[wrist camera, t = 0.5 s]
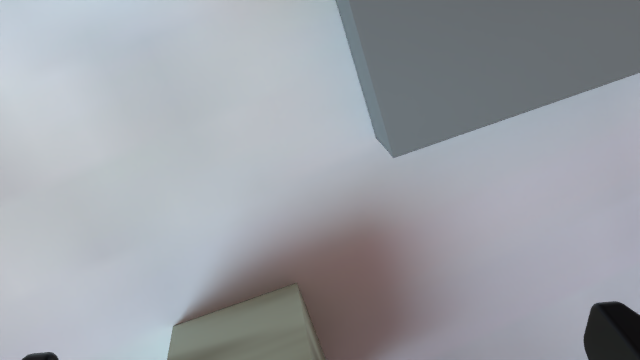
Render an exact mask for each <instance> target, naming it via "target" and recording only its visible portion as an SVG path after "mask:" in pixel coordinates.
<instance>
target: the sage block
mask: <svg viewBox="0 0 640 360" xmlns="http://www.w3.org/2000/svg"><path fill="white" fill-rule="evenodd" d="M167 360H326V359H325V356H324V354H323V351H322V348H321V346H320V343H319V340H318V338H317V335H316V332H315V330H314V327H313V325H312V322H311V319H310V317H309V314H308V311H307V309H306V306H305V303H304V301H303V298H302V295H301V293H300V290H299V287H298V285H297V283H295V284H292V285H290V286H287V287H284V288H281V289H278V290H275V291H272V292H270V293H267V294H264V295H261V296H258V297H255V298H253V299H250V300H247V301H244V302H241V303H238V304H235V305H233V306H230V307H227V308H224V309H221V310H218V311H215V312H213V313H210V314H207V315H204V316H201V317H198V318H196V319H193V320H190V321H187V322H184V323H181V324H178V325H176V326H173V330H172V335H171V341H170V347H169V352H168V358H167Z"/></svg>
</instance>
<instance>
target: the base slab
mask: <svg viewBox="0 0 640 360" xmlns="http://www.w3.org/2000/svg"><path fill="white" fill-rule="evenodd" d="M336 2H337V6H338V9H339V13H340V16H341V19H342V23H343V26H344V30H345V33H346V37H347V40H348V43H349V47H350V50H351V54H352V57H353V61H354V64H355V67H356V71H357V74H358V78H359V81H360V84H361V88H362V91H363V95H364V98H365V102H366V105H367V108H368V112H369V115H370V119H371V122H372V126H373V129H374V132H375V136H376V138H377V140H378V141H379V142H380V143H381V144H382V145H383V146H384V148H385V149H386V150H387V151H388V152H389V153H390V154H391V156H392V157H393V158H395V157H398V156H401V155H404V154H407V153H409V152H412V151H415V150H418V149H421V148H424V147H427V146H430V145H432V144H435V143H438V142H441V141H444V140H447V139H450V138H453V137H456V136H458V135H461V134H464V133H467V132H470V131H473V130H476V129H479V128H481V127H484V126H487V125H490V124H493V123H496V122H499V121H502V120H505V119H507V118H510V117H513V116H516V115H519V114H522V113H525V112H528V111H530V110H533V109H536V108H539V107H542V106H545V105H548V104H551V103H554V102H556V101H559V100H562V99H565V98H568V97H571V96H574V95H577V94H579V93H582V92H585V91H588V90H591V89H594V88H597V87H600V86H603V85H605V84H608V83H611V82H614V81H617V80H620V79H623V78H626V77H628V76H631V75H634V74H637V73H640V0H336Z"/></svg>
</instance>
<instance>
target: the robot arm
mask: <svg viewBox="0 0 640 360" xmlns="http://www.w3.org/2000/svg"><path fill="white" fill-rule="evenodd" d="M584 347H585V351H586V354H587V357H588V359H589V360H640V315H639V314H637V313H636V312H634V311H633V310H631V309H630V308H629V307H627V306H626V305H624V304H622V303H620V302H616V301H613V302H602V303H596V304H594V305H593V306H592V308H591V311H590V315H589V318H588V322H587V326H586V330H585V334H584ZM22 360H58V358H57V356H56V355H55V354H54V353H52V352H45V353H34V354H29V355H27V356H26V357H24V358H23V359H22Z"/></svg>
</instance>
